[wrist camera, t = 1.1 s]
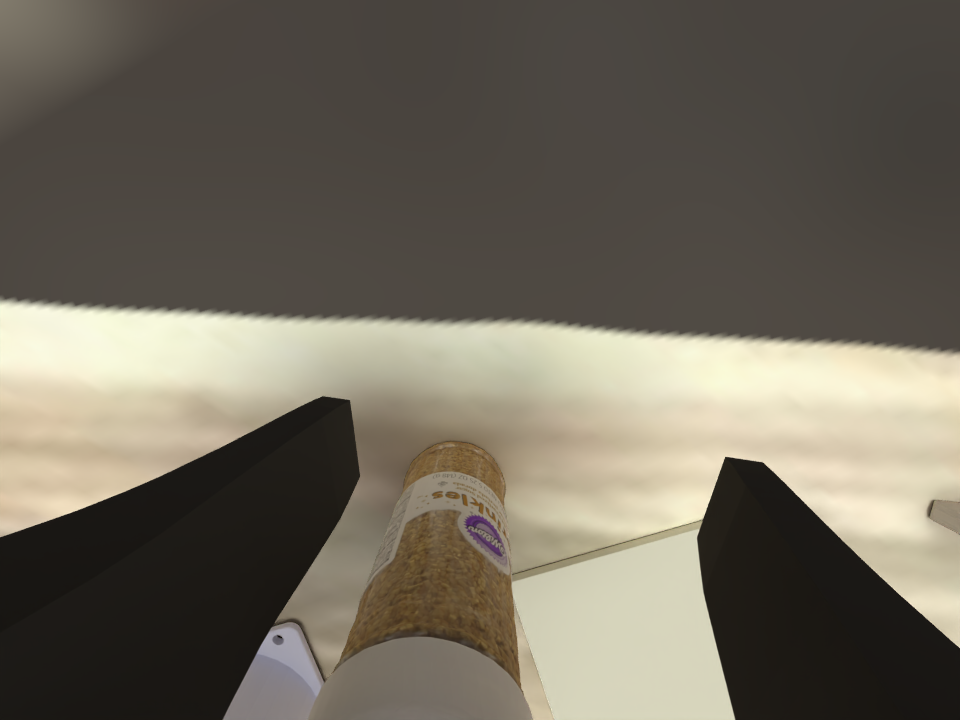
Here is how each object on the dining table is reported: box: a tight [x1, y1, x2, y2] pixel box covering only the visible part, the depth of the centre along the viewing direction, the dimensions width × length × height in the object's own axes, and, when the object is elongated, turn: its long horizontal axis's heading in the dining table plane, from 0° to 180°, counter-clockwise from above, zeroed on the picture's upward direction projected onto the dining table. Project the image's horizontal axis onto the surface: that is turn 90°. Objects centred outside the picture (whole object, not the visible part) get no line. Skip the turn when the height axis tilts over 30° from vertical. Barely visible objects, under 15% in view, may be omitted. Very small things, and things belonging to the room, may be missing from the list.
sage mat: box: [511, 520, 735, 720], centre depth 22 cm, size 12×12×1 cm
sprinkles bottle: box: [308, 442, 533, 720], centre depth 14 cm, size 5×5×14 cm
